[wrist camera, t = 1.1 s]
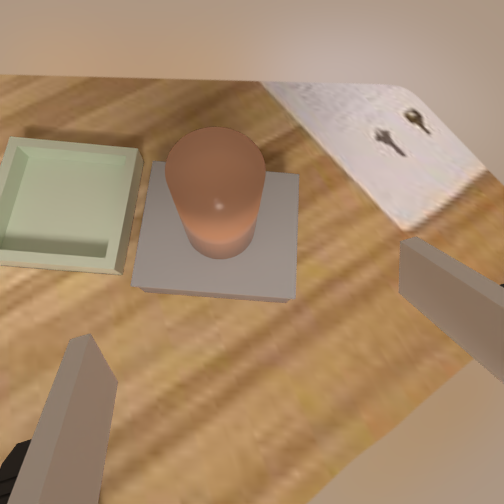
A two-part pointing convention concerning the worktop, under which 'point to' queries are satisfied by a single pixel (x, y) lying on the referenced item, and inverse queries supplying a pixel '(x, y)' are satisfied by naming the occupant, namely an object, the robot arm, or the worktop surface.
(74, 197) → the tray
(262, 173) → the terracotta domed cylinder
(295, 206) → the grey square plinth
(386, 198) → the worktop surface
